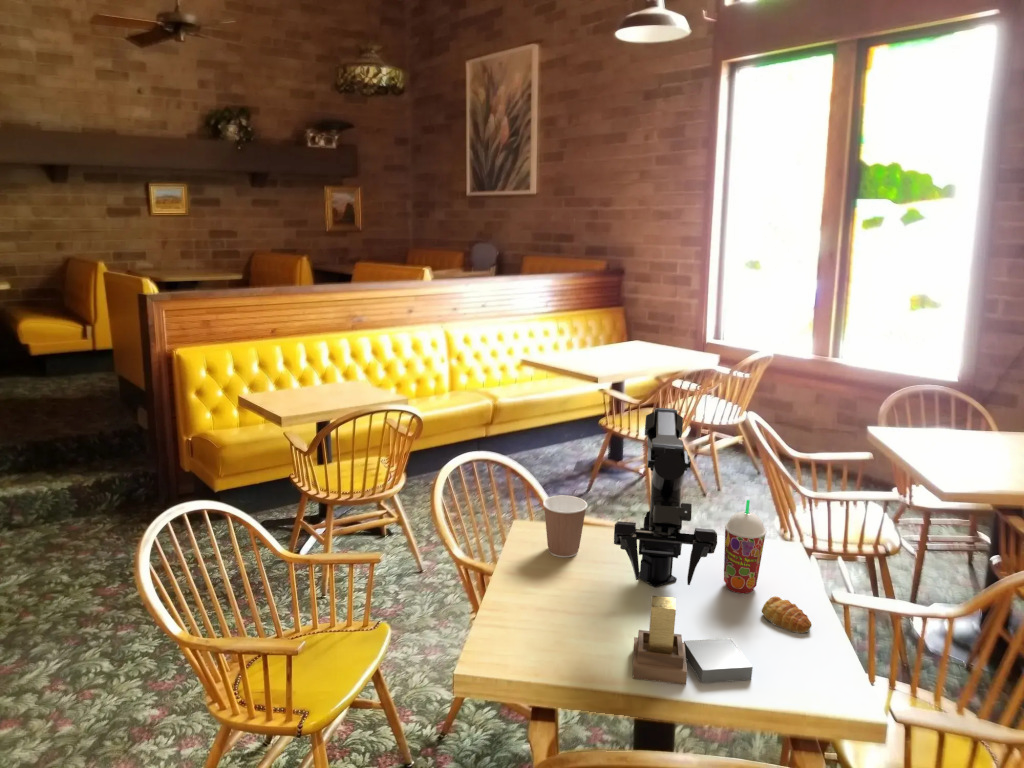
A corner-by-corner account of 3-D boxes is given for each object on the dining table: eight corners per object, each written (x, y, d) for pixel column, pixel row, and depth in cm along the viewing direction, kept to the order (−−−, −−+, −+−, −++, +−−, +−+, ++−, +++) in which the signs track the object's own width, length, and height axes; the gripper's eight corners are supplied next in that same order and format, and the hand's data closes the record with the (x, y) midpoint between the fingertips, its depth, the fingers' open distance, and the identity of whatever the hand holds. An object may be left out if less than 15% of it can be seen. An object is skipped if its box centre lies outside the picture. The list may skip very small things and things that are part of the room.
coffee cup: (589, 545, 182) (591, 498, 179) (579, 564, 172) (582, 514, 169) (547, 539, 185) (549, 492, 182) (536, 556, 175) (537, 508, 172)
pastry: (818, 629, 148) (821, 612, 147) (796, 639, 144) (798, 621, 143) (778, 608, 155) (780, 591, 155) (756, 617, 152) (758, 600, 151)
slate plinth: (682, 653, 139) (683, 640, 138) (729, 650, 140) (730, 637, 139) (701, 683, 130) (702, 670, 129) (751, 679, 131) (752, 666, 131)
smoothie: (717, 592, 161) (725, 504, 156) (722, 575, 168) (730, 490, 164) (758, 600, 158) (767, 510, 153) (761, 582, 165) (770, 496, 161)
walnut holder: (633, 649, 139) (634, 627, 138) (683, 655, 138) (685, 632, 137) (632, 678, 131) (634, 655, 130) (686, 684, 129) (688, 661, 128)
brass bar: (648, 646, 136) (651, 595, 134) (670, 648, 135) (674, 597, 133) (648, 658, 132) (651, 607, 130) (671, 661, 132) (675, 609, 129)
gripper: (617, 480, 141) (611, 562, 133) (720, 489, 138) (721, 572, 130) (616, 504, 150) (611, 582, 142) (713, 513, 147) (713, 592, 139)
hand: (663, 581), depth 138 cm, fingers open, 9 cm apart
